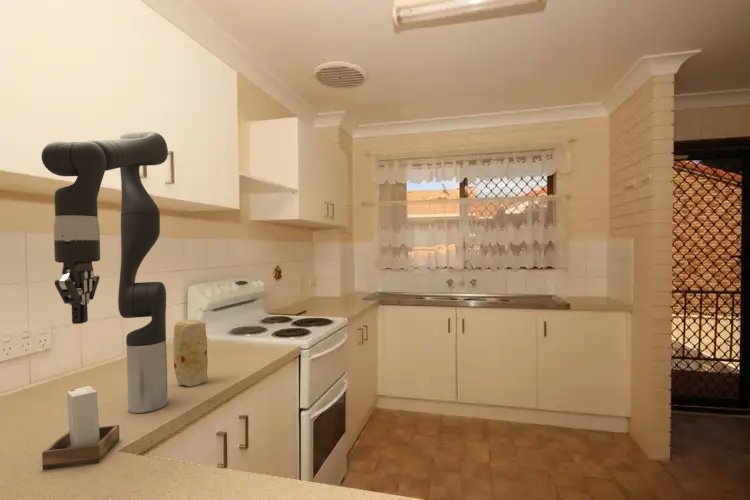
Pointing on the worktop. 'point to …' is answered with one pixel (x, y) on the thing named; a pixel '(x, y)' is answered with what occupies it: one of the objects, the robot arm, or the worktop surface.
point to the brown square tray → (79, 450)
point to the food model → (190, 352)
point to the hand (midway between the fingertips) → (79, 322)
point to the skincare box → (83, 417)
